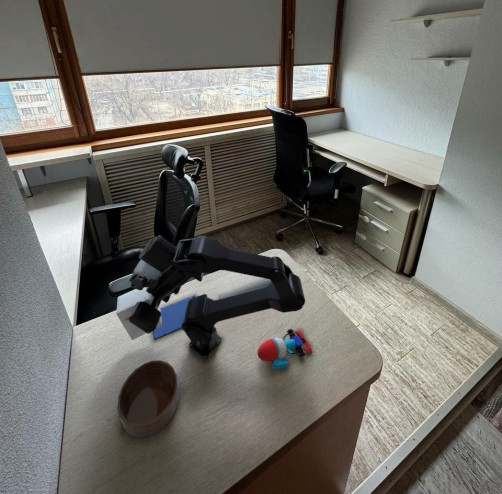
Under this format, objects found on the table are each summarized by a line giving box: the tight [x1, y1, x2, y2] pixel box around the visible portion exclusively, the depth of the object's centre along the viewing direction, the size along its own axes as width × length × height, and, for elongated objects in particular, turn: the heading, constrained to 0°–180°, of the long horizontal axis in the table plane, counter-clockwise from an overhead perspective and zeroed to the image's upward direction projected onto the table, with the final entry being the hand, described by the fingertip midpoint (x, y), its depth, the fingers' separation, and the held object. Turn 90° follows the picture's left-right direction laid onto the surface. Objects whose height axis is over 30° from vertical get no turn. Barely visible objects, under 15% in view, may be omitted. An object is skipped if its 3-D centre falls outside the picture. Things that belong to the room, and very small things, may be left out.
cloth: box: [153, 294, 196, 340], centre depth 82 cm, size 14×9×1 cm, turn 117°
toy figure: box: [257, 328, 313, 371], centre depth 71 cm, size 8×5×15 cm
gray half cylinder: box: [219, 278, 271, 299], centre depth 89 cm, size 4×20×2 cm, turn 115°
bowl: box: [117, 359, 180, 438], centre depth 61 cm, size 13×13×4 cm
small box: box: [115, 287, 162, 341], centre depth 70 cm, size 8×6×10 cm
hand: (139, 306), depth 70 cm, fingers closed on small box, 7 cm apart
